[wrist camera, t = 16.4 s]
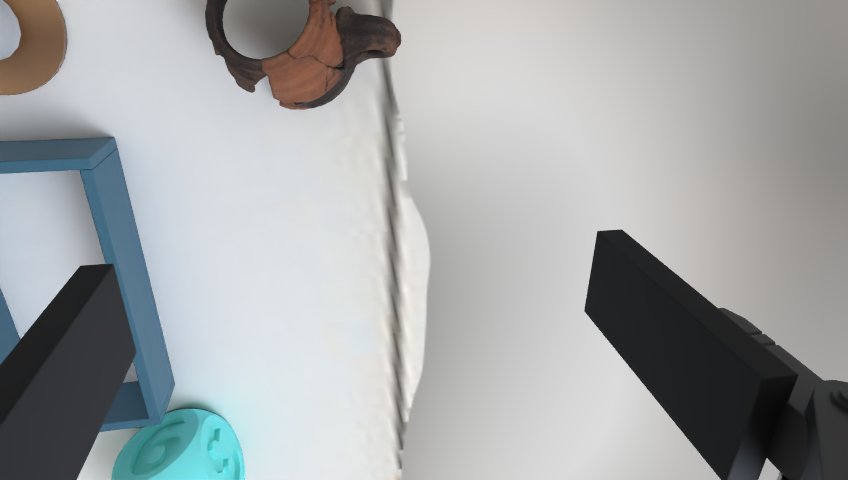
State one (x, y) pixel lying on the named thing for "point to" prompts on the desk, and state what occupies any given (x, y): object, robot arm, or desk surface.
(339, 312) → the desk surface
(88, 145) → the tote
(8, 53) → the rook chess piece
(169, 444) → the decorative dice
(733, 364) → the robot arm
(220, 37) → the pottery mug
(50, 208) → the desk surface
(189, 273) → the desk surface
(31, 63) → the coaster
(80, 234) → the desk surface
